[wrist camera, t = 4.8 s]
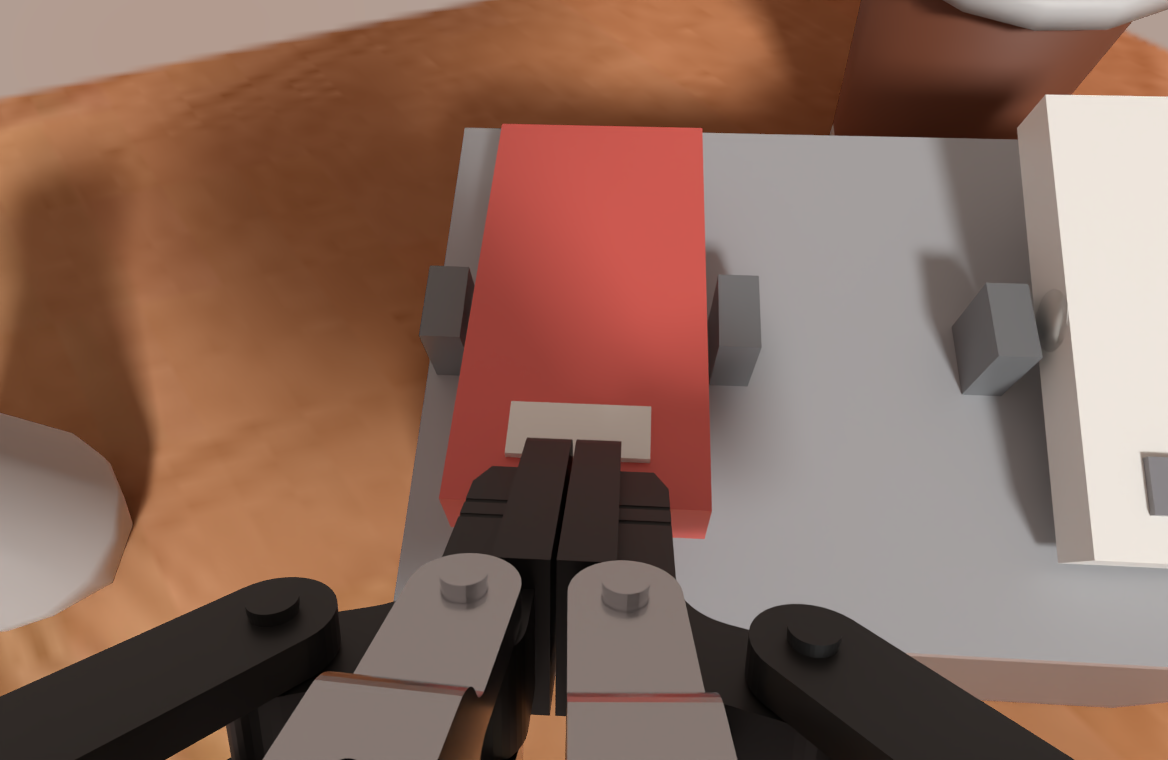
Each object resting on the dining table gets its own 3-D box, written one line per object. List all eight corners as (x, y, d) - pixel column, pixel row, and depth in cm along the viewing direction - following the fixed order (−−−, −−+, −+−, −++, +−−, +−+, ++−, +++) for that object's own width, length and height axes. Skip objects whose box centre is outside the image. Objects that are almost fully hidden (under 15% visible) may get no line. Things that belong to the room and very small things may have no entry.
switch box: (1037, 325, 28) (1270, 87, 18) (1113, 707, 23) (1495, 669, 13) (507, 307, 29) (452, 72, 19) (467, 670, 24) (363, 609, 14)
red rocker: (697, 169, 19) (702, 122, 18) (704, 539, 14) (713, 507, 13) (507, 165, 19) (501, 118, 18) (450, 527, 14) (436, 494, 13)
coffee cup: (1078, 121, 31) (1328, -221, 20) (979, 292, 28) (1210, -1, 17) (861, 26, 34) (980, -324, 23) (748, 175, 31) (823, -147, 20)
